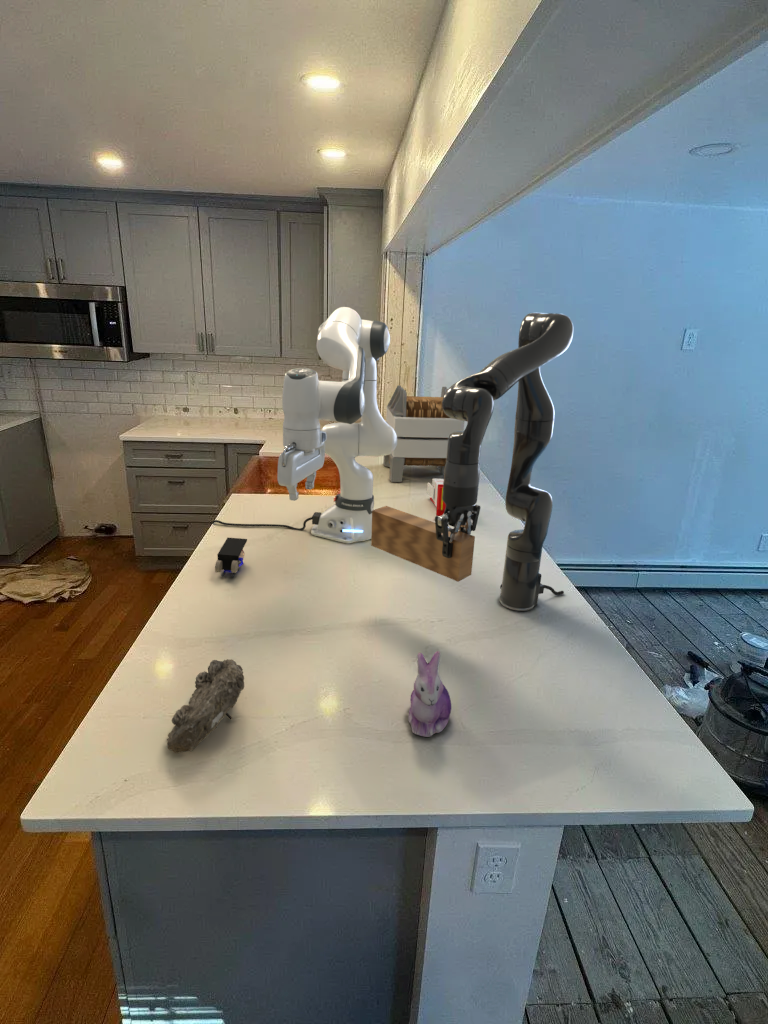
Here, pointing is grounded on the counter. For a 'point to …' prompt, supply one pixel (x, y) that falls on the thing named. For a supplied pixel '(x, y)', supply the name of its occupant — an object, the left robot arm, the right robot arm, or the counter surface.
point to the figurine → (429, 699)
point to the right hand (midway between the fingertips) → (454, 553)
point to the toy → (437, 495)
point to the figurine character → (230, 556)
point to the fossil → (206, 705)
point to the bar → (421, 543)
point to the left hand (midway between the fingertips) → (302, 494)
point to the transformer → (418, 432)
